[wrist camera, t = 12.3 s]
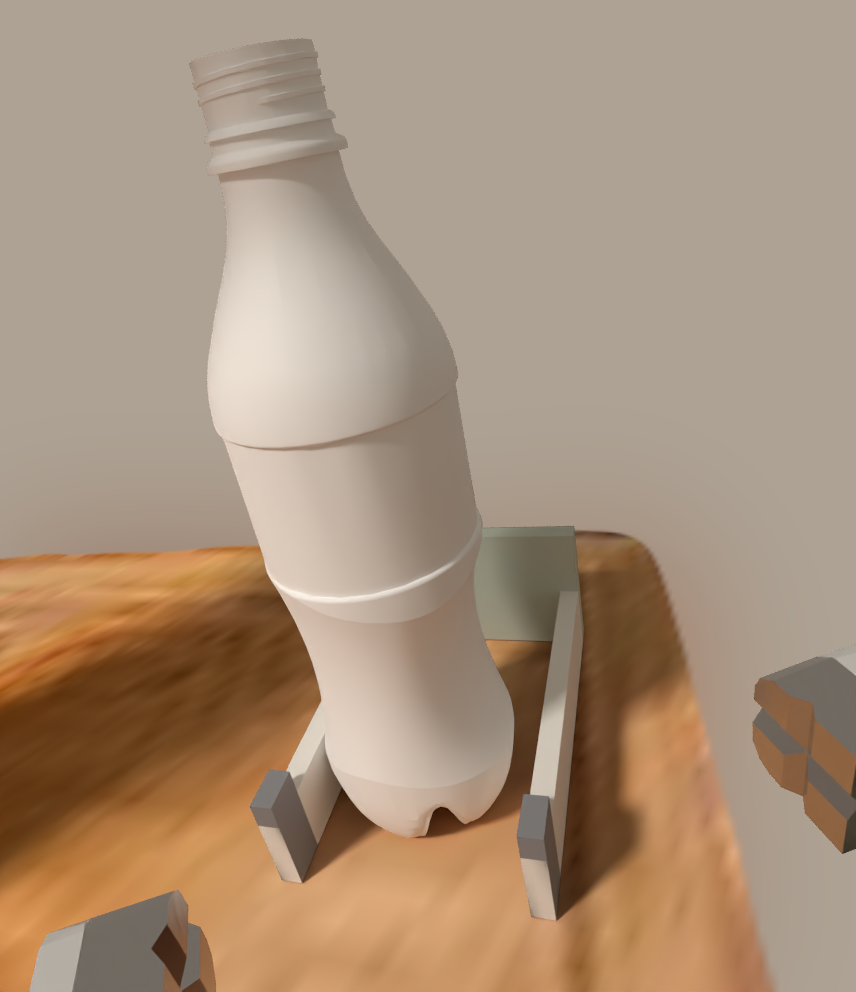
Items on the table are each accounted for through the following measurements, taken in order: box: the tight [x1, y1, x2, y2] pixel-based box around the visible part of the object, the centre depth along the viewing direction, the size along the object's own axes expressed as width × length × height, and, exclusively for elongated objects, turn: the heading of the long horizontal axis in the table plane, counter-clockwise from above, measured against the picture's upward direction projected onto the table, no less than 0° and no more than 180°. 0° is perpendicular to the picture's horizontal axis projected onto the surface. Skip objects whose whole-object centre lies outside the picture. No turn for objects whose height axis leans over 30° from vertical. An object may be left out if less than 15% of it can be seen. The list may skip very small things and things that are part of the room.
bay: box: [250, 526, 584, 920], centre depth 29 cm, size 10×14×6 cm
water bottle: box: [189, 39, 514, 838], centre depth 22 cm, size 7×7×25 cm
